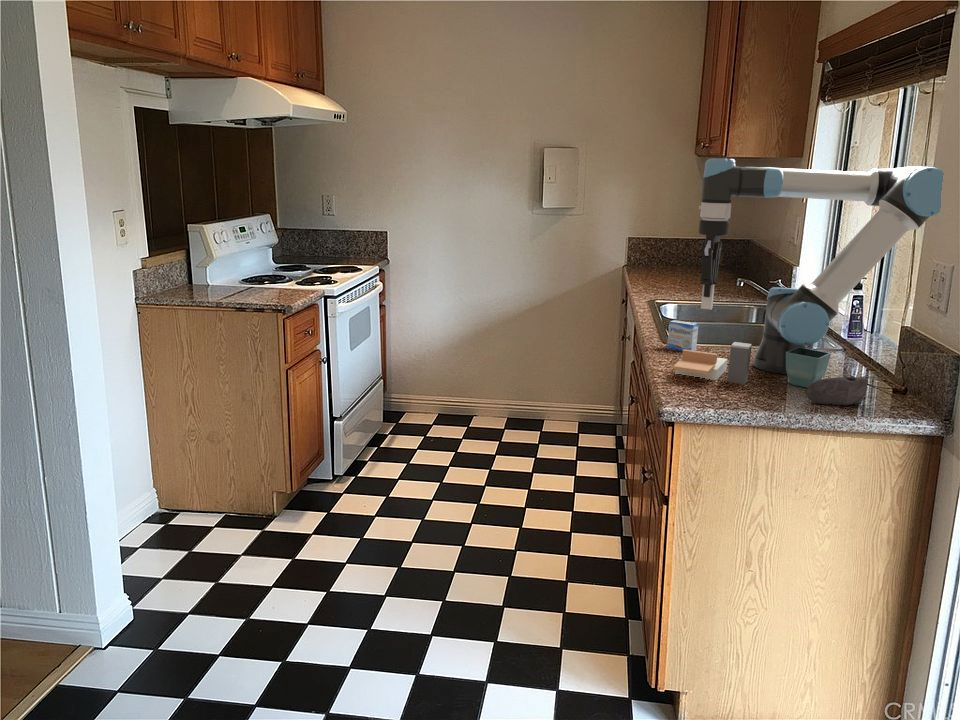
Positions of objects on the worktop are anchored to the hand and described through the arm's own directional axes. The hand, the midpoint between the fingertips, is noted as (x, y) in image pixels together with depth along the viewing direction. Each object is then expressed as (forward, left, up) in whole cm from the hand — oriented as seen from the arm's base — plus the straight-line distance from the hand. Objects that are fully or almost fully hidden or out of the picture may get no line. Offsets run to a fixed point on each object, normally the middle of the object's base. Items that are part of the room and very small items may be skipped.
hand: (706, 308), depth 215 cm
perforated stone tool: (-35, +9, -19) cm, 41 cm away
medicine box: (+12, -27, -18) cm, 34 cm away
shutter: (0, +6, -15) cm, 16 cm away
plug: (-10, +1, -18) cm, 21 cm away
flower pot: (-26, -5, -18) cm, 32 cm away
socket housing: (0, -3, -18) cm, 18 cm away
